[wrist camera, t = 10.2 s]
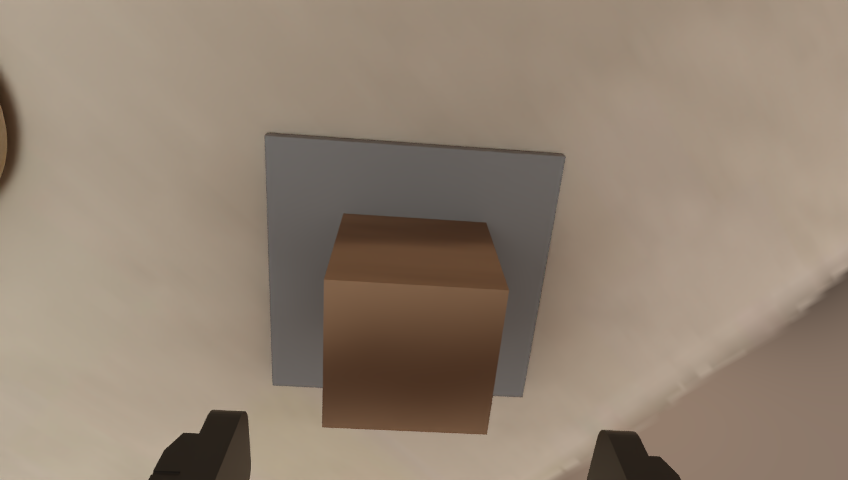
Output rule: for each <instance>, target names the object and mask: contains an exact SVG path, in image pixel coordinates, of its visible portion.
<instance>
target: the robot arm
mask: <svg viewBox="0 0 848 480" xmlns="http://www.w3.org/2000/svg"><path fill="white" fill-rule="evenodd" d="M250 471H251V457H250V442H249V426H248V415H247V413H246V412H245V411H226V410H212V411H210V413H209V414H208V416H207V418H206V420H205V422H204V425H203V427H202V429H201V431H200V433H199V434H196V433H183V434H182V435H181V436H180V437H178V438H177V439H176V440H175V441H174V442H173V443H172V444H171V445H170V446H168V447H167V448H166V449H165V450H164V452H163V454H162V456H161V457H160V459H159V461H158V463H157V465H156V467H155V469H154V470H153V475H151V476H150V478H149V480H249V479H250ZM587 480H681V479H680V477H679V475H678V474H677V473H676V472H675V471H674V470H673V469H672V468H671V467H670V466H669V465H668V464H667V463H666V462H665V461H664V460H663V459H662V458H661V457H657V456H648V454H647V452H646V450H645V448H644V446H643V444H642V442H641V439H640V437H639V436H638V434H637V433H636V432H633V431H612V430H601V431H600V433H599V435H598V438H597V441H596V445H595V449H594V453H593V457H592V461H591V465H590V469H589V473H588V477H587Z"/></svg>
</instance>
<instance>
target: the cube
mask: <svg viewBox="0 0 848 480" xmlns="http://www.w3.org/2000/svg"><path fill="white" fill-rule="evenodd" d="M508 294H509V288H508V286H507V283H506V280H505V277H504V274H503V271H502V268H501V265H500V262H499V259H498V256H497V253H496V250H495V247H494V244H493V241H492V238H491V235H490V232H489V229H488V226H487V223H486V222H471V221H455V220H440V219H424V218H408V217H393V216H377V215H362V214H346V213H343V216H342V219H341V223H340V226H339V230H338V233H337V237H336V240H335V243H334V247H333V250H332V254H331V257H330V261H329V264H328V267H327V271H326V274H325V278H324V316H323V407H322V427H329V428H351V429H374V430H397V431H420V432H442V433H465V434H487V430H488V423H489V417H490V410H491V404H492V398H493V391H494V385H495V378H496V372H497V365H498V359H499V352H500V346H501V340H502V333H503V327H504V320H505V314H506V307H507V301H508Z"/></svg>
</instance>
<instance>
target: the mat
mask: <svg viewBox="0 0 848 480" xmlns="http://www.w3.org/2000/svg"><path fill="white" fill-rule="evenodd" d="M265 160H266V191H267V223H268V254H269V286H270V318H271V349H272V381H273V385H274V386H296V387H317V388H323V316H324V278H325V274H326V271H327V267H328V264H329V261H330V257H331V254H332V250H333V247H334V243H335V240H336V237H337V233H338V230H339V226H340V223H341V219H342V216H343V213H346V214H362V215H377V216H393V217H408V218H424V219H440V220H455V221H471V222H486V223H487V226H488V229H489V232H490V235H491V238H492V241H493V244H494V247H495V250H496V253H497V256H498V259H499V262H500V265H501V268H502V271H503V274H504V277H505V280H506V283H507V286H508V288H509V294H508V301H507V307H506V314H505V320H504V327H503V333H502V340H501V346H500V352H499V359H498V365H497V372H496V378H495V385H494V391H493V396H507V397H522V396H523V391H524V385H525V380H526V374H527V369H528V363H529V358H530V352H531V346H532V341H533V335H534V330H535V324H536V319H537V313H538V307H539V302H540V296H541V291H542V285H543V280H544V274H545V269H546V263H547V257H548V252H549V246H550V241H551V235H552V230H553V224H554V218H555V213H556V207H557V202H558V196H559V191H560V185H561V180H562V174H563V168H564V163H565V156H564V155H563V154H558V153H544V152H530V151H516V150H502V149H488V148H474V147H460V146H445V145H431V144H417V143H403V142H389V141H375V140H361V139H346V138H332V137H318V136H304V135H290V134H276V133H267V134H266V135H265Z"/></svg>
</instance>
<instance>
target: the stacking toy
mask: <svg viewBox="0 0 848 480" xmlns="http://www.w3.org/2000/svg"><path fill="white" fill-rule="evenodd" d="M6 154H7V132H6V125H5V120H4V115H3V111H2V108H1V105H0V178H1V175H2V172H3V169H4V166H5V161H6Z"/></svg>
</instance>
